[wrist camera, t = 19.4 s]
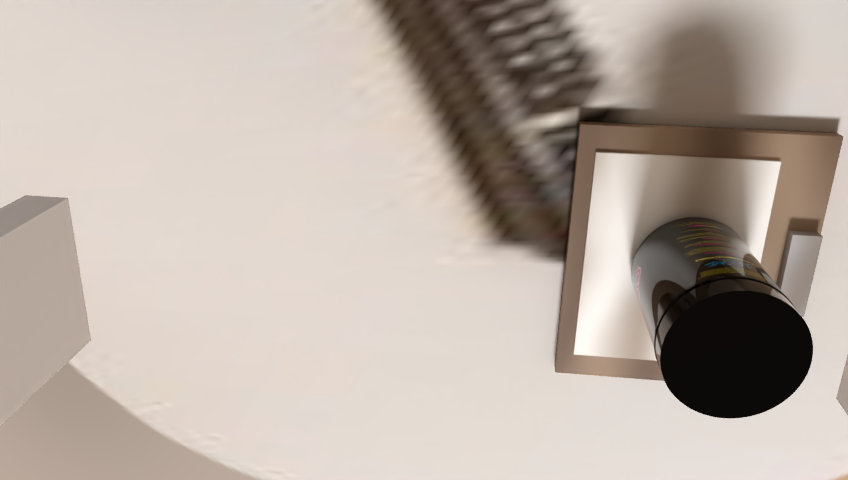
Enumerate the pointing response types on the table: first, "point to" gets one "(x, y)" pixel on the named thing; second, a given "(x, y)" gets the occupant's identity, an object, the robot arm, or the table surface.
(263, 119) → the table surface
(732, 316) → the supplement container
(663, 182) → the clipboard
